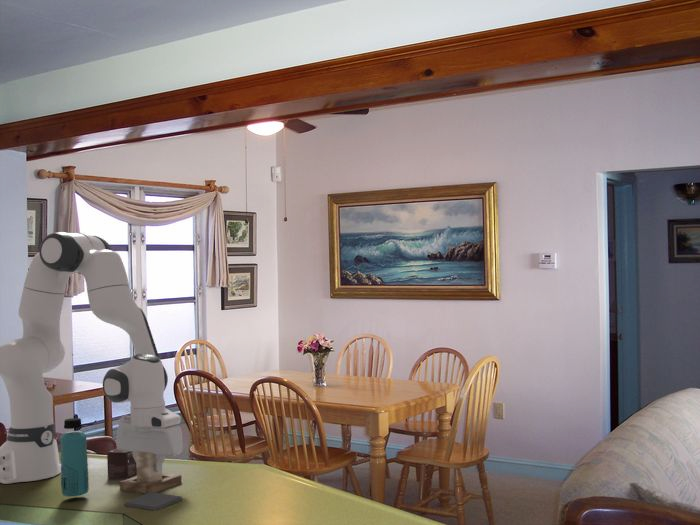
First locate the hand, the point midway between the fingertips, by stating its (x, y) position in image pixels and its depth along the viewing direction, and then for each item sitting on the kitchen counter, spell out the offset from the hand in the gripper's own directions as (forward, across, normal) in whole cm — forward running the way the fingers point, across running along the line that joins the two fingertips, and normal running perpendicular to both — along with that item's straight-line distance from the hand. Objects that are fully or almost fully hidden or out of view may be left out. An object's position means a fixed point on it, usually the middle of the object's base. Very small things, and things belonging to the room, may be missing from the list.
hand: (149, 469), depth 197 cm
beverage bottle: (+5, -10, -16) cm, 19 cm away
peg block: (+3, 0, 0) cm, 3 cm away
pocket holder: (+4, 0, 0) cm, 4 cm away
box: (+5, -15, +5) cm, 16 cm away
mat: (+4, +11, -11) cm, 16 cm away
